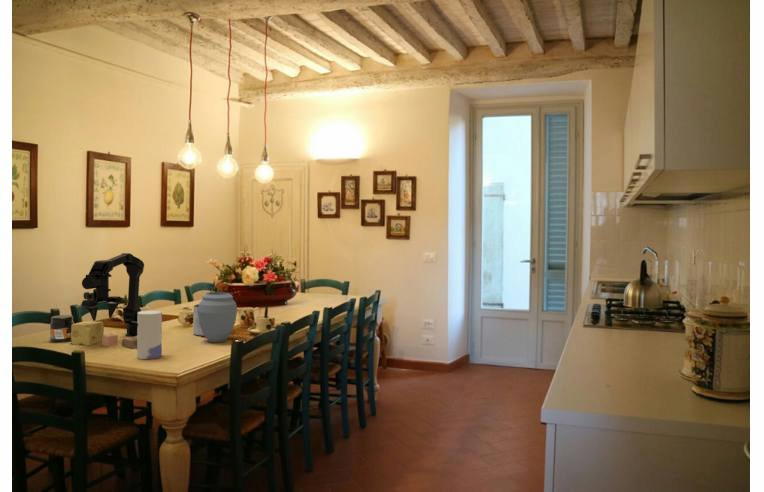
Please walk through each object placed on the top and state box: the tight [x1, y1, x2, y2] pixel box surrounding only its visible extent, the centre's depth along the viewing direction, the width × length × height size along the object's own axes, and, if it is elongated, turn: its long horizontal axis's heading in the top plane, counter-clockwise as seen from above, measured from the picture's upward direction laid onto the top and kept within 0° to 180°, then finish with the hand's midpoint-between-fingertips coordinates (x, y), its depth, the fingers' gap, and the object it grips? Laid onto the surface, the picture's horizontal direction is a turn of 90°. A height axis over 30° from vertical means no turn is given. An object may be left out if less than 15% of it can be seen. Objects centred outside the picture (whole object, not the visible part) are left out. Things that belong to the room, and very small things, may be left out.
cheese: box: [70, 320, 105, 346], centre depth 278 cm, size 10×11×10 cm
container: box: [136, 310, 163, 360], centre depth 252 cm, size 10×10×20 cm
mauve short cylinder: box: [121, 336, 137, 350], centre depth 273 cm, size 8×8×4 cm
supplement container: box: [49, 314, 75, 343], centre depth 282 cm, size 10×10×12 cm
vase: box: [197, 291, 238, 343], centre depth 288 cm, size 20×20×24 cm
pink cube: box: [101, 333, 119, 348], centre depth 274 cm, size 5×5×5 cm
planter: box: [192, 303, 205, 337], centre depth 306 cm, size 16×16×16 cm
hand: (102, 319), depth 274 cm, fingers open, 9 cm apart
